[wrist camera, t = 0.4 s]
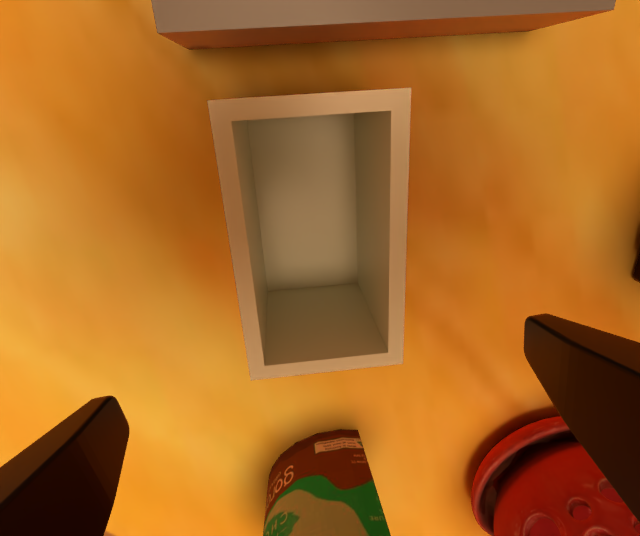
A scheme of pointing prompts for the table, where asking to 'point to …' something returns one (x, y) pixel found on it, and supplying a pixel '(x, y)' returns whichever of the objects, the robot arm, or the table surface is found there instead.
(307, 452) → the food container
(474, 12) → the big crate
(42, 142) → the table surface
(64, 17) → the table surface
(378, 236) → the small crate
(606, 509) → the plant pot
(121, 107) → the table surface
